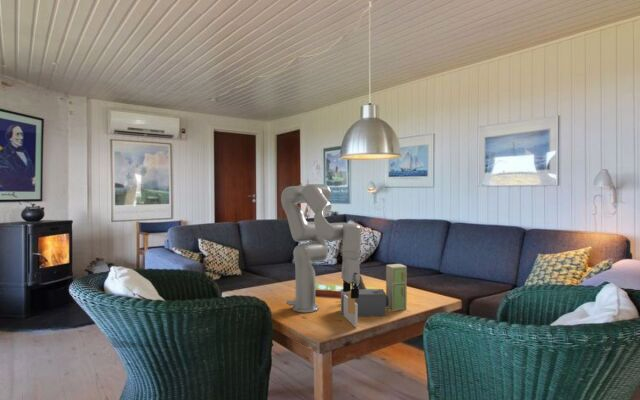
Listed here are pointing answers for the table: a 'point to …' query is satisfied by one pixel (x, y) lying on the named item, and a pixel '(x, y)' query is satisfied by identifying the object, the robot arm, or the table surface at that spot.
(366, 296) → the grey toy microwave
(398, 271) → the toy refrigerator
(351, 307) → the side door
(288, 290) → the table surface
